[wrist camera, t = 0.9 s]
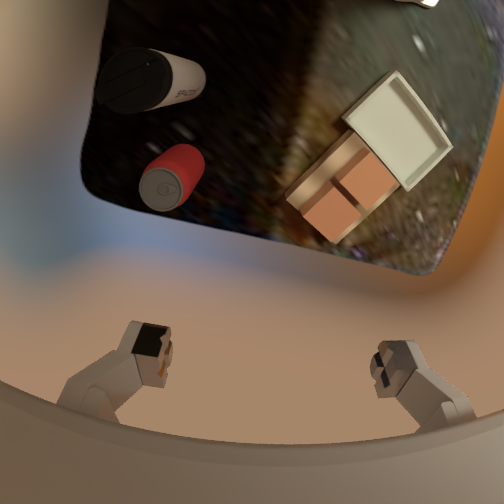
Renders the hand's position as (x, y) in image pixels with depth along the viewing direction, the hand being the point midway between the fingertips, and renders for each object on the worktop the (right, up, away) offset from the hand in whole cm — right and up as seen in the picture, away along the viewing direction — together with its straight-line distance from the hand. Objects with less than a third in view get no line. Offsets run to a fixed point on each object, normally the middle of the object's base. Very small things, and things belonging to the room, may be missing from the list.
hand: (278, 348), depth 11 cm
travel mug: (-11, +28, +27) cm, 40 cm away
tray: (+21, +22, +29) cm, 42 cm away
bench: (+13, +14, +34) cm, 39 cm away
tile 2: (+15, +15, +30) cm, 37 cm away
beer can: (-11, +17, +34) cm, 39 cm away
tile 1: (+10, +10, +33) cm, 36 cm away
